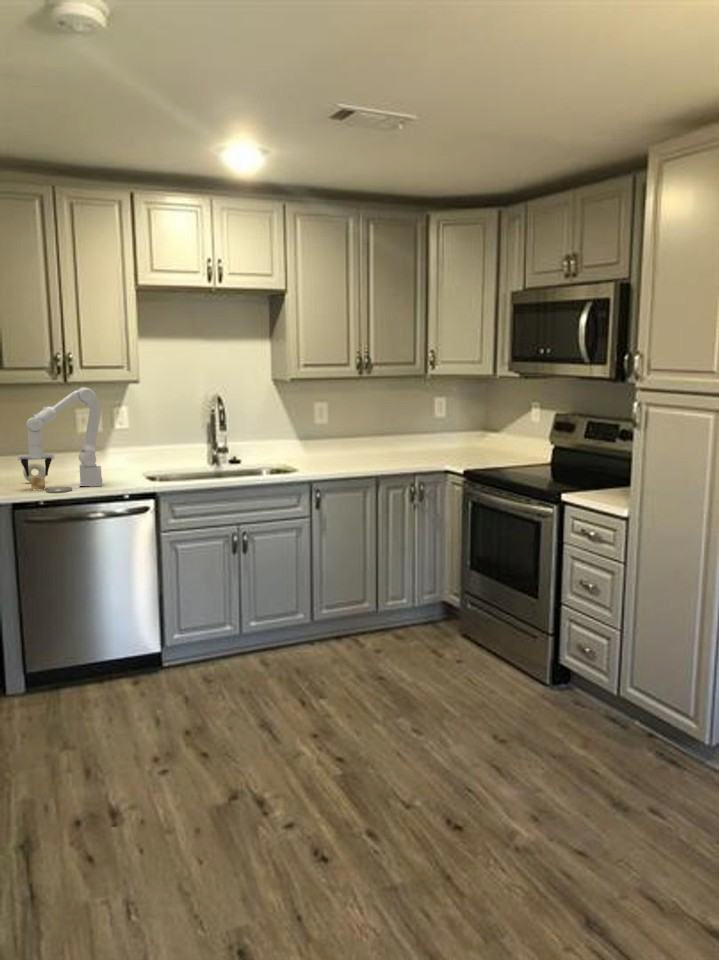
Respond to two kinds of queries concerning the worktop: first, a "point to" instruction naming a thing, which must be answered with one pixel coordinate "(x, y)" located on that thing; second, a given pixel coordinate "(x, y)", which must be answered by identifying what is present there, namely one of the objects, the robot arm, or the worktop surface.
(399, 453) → the worktop surface
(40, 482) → the cube
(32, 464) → the donut
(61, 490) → the plate
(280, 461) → the worktop surface
